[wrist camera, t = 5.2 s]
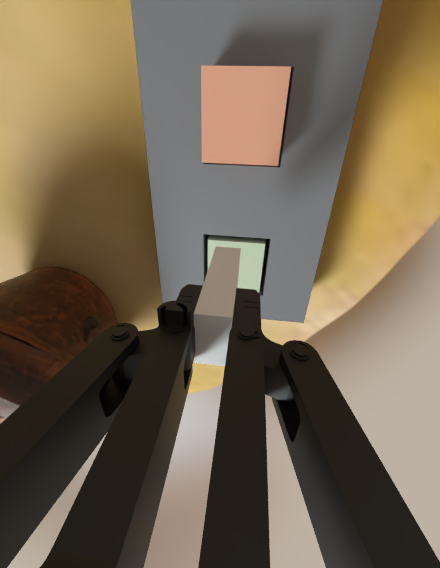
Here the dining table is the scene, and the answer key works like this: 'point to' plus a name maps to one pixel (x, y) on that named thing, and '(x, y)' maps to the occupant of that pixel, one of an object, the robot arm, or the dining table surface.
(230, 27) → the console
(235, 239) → the sage button
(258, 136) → the terracotta button
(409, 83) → the dining table surface
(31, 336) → the brown tapered container
